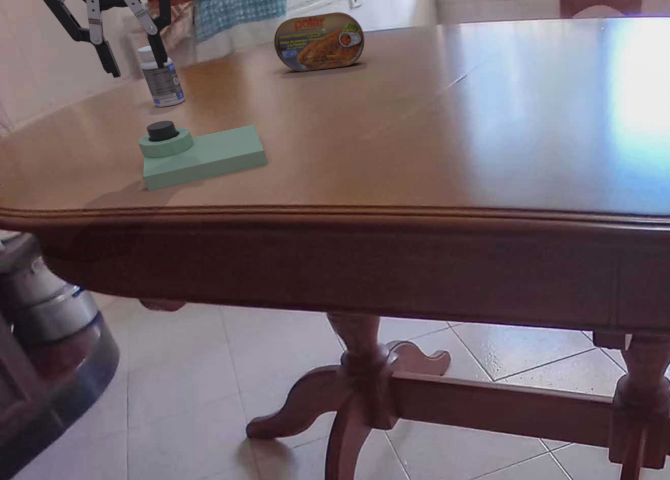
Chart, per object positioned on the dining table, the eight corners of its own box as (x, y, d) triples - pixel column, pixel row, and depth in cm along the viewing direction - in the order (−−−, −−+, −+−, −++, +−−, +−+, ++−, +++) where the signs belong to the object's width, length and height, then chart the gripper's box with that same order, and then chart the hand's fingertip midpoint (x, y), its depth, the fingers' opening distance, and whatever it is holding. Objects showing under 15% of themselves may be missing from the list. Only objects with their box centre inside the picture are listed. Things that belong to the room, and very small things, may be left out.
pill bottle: (188, 102, 112) (168, 46, 107) (157, 109, 110) (136, 53, 105) (182, 95, 115) (163, 41, 110) (153, 102, 113) (132, 47, 108)
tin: (281, 74, 120) (267, 21, 115) (284, 69, 122) (271, 17, 117) (368, 64, 119) (358, 11, 114) (370, 59, 122) (360, 7, 117)
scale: (148, 192, 82) (136, 163, 80) (149, 160, 91) (138, 134, 89) (268, 164, 85) (260, 136, 83) (257, 137, 94) (250, 111, 92)
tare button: (151, 145, 86) (146, 131, 85) (151, 137, 88) (146, 124, 87) (178, 139, 87) (173, 125, 86) (177, 132, 89) (172, 118, 88)
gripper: (147, -109, 77) (200, 54, 87) (5, -91, 74) (78, 76, 84) (146, -107, 71) (203, 67, 82) (-7, -87, 68) (72, 92, 78)
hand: (139, 71), depth 83 cm, fingers open, 4 cm apart
